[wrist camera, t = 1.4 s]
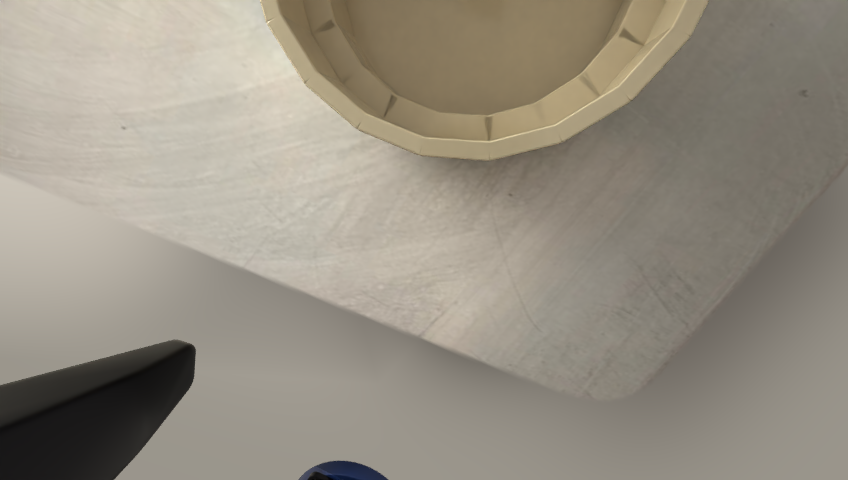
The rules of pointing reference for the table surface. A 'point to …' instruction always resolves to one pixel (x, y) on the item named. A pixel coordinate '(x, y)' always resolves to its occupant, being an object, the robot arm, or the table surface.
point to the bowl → (479, 65)
